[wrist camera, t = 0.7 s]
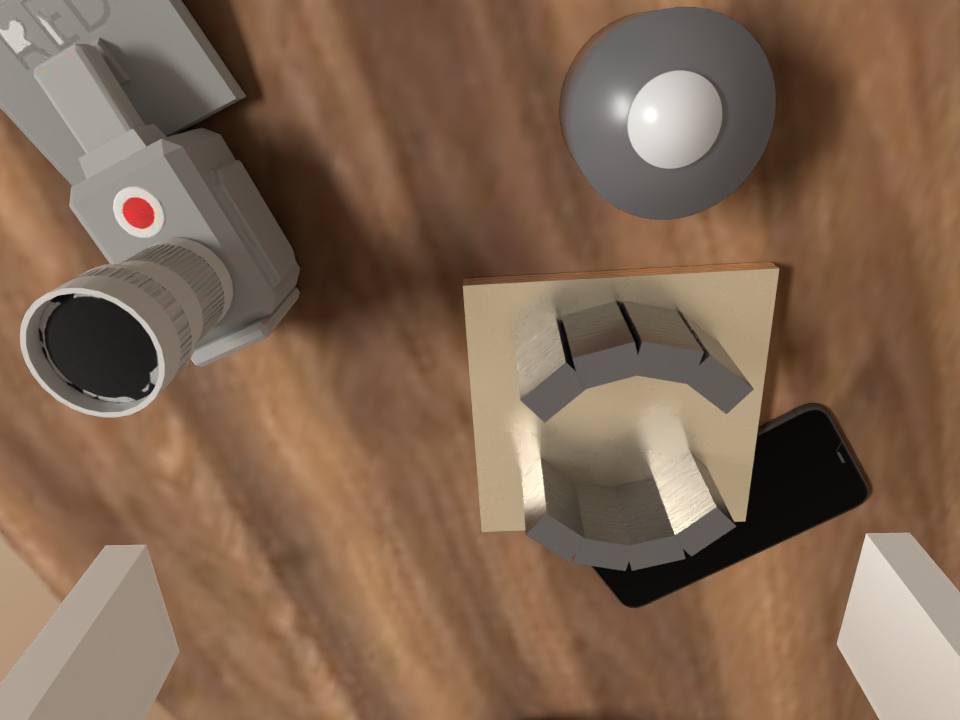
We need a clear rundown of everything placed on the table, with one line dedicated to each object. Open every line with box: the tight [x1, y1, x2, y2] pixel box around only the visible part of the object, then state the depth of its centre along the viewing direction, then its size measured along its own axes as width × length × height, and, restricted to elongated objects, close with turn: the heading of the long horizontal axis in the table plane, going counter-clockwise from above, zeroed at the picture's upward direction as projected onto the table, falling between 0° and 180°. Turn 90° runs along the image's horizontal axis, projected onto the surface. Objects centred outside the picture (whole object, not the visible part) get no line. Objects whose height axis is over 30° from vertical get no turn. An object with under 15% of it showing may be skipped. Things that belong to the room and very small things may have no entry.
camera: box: [0, 0, 300, 417], centre depth 24 cm, size 9×12×15 cm
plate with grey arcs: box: [463, 262, 779, 571], centre depth 32 cm, size 14×14×6 cm
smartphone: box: [591, 403, 869, 608], centre depth 37 cm, size 7×1×15 cm
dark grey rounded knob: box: [559, 7, 776, 220], centre depth 26 cm, size 7×7×5 cm
